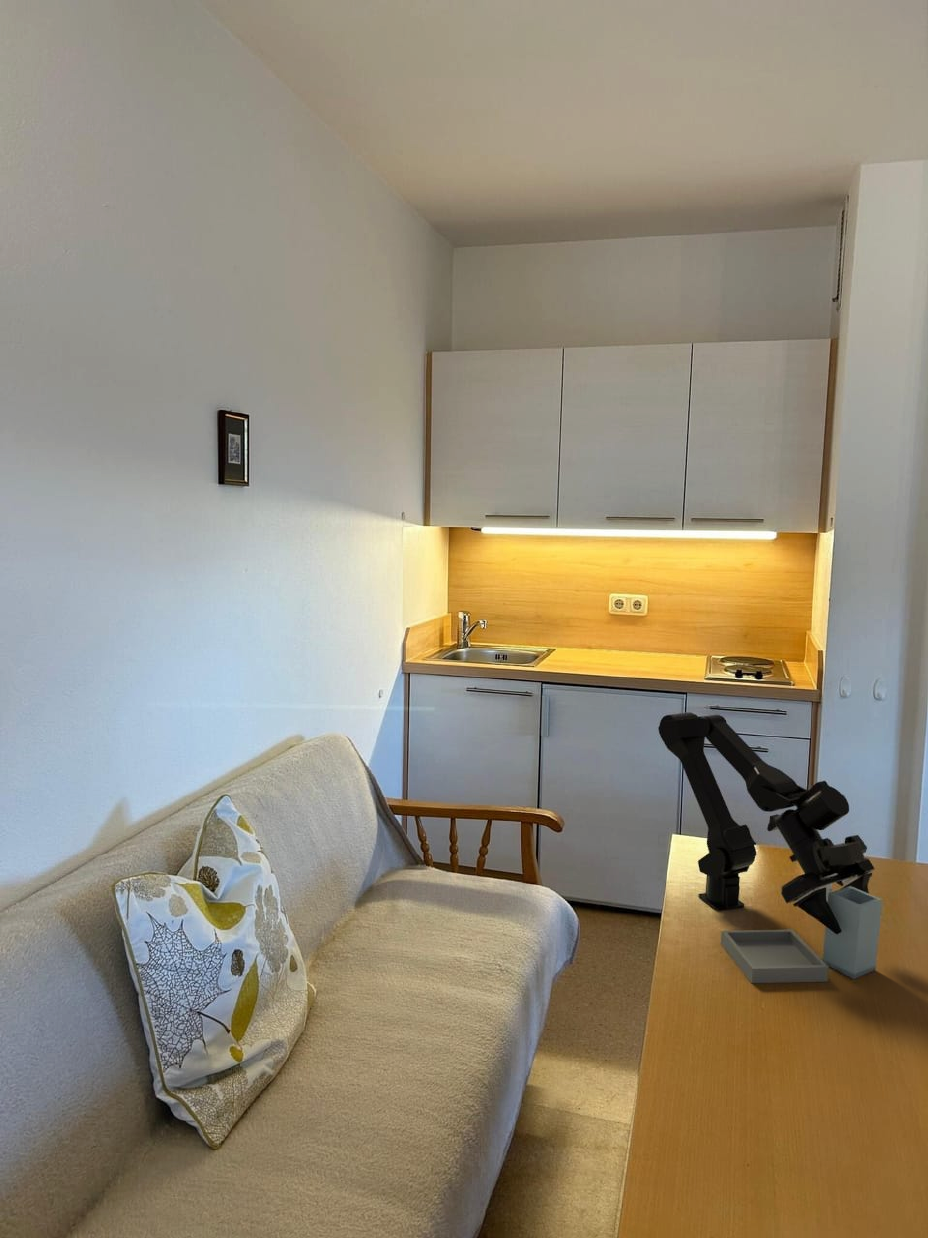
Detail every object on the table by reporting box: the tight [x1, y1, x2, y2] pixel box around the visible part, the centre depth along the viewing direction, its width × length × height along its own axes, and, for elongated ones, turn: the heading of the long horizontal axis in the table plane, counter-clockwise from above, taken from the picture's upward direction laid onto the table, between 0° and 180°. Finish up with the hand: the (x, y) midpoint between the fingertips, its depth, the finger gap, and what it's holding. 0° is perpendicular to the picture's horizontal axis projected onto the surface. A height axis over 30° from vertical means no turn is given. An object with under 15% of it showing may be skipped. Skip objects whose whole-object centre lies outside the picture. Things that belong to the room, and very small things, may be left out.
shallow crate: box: [720, 929, 830, 984], centre depth 153 cm, size 13×13×2 cm
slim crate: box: [821, 886, 883, 980], centre depth 152 cm, size 6×6×12 cm
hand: (856, 927), depth 151 cm, fingers open, 9 cm apart
